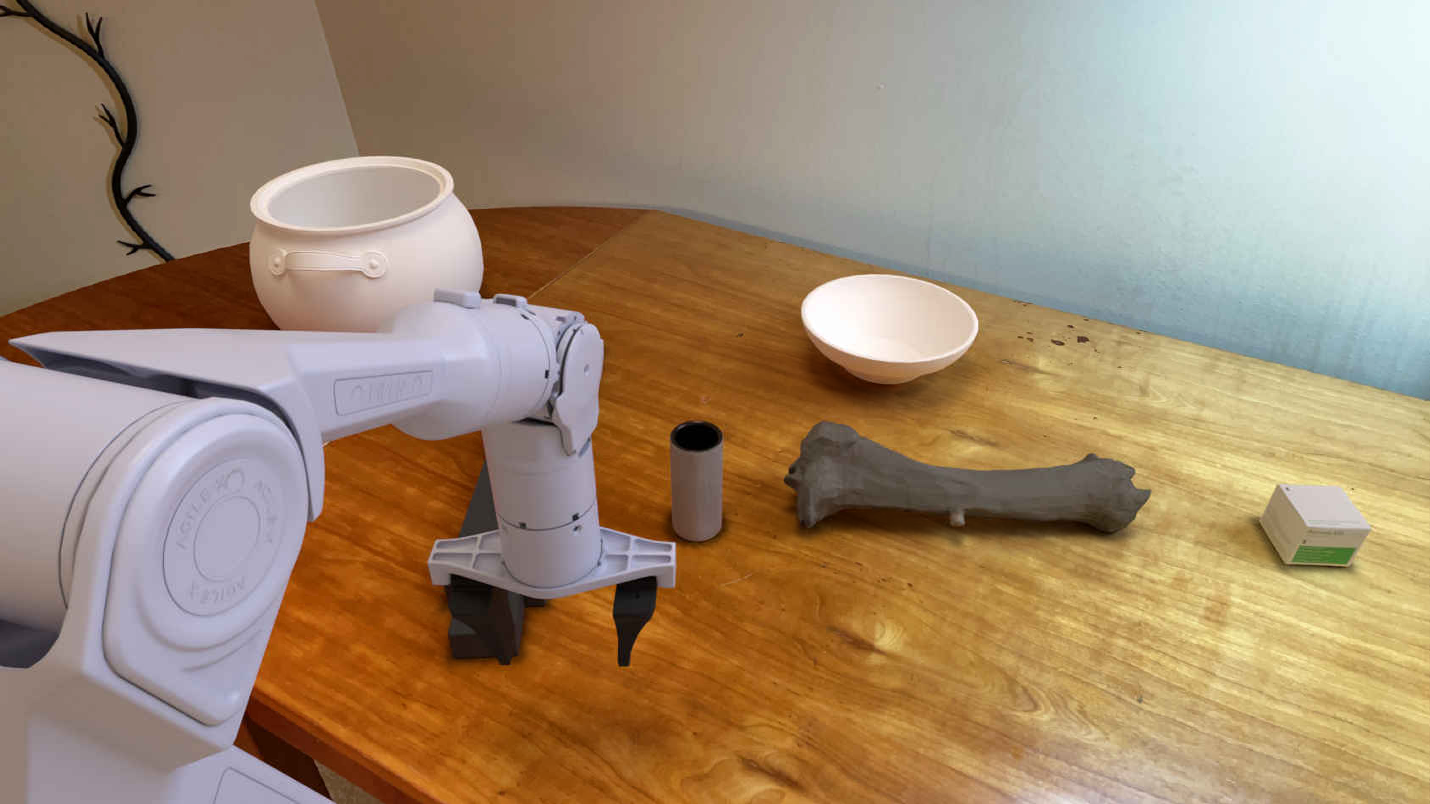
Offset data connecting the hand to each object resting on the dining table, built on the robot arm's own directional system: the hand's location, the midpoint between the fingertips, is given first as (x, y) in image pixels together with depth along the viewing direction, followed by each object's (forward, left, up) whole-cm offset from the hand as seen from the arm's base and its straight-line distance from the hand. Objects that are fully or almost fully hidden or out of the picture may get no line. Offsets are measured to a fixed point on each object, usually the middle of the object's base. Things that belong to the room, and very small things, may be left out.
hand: (566, 653), depth 59 cm
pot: (+32, +61, -10) cm, 70 cm away
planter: (+23, +6, -10) cm, 26 cm away
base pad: (+22, +25, -9) cm, 35 cm away
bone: (+38, -13, -10) cm, 41 cm away
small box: (+52, -40, -10) cm, 66 cm away
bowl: (+57, +4, -10) cm, 58 cm away
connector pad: (+5, +13, -9) cm, 17 cm away
